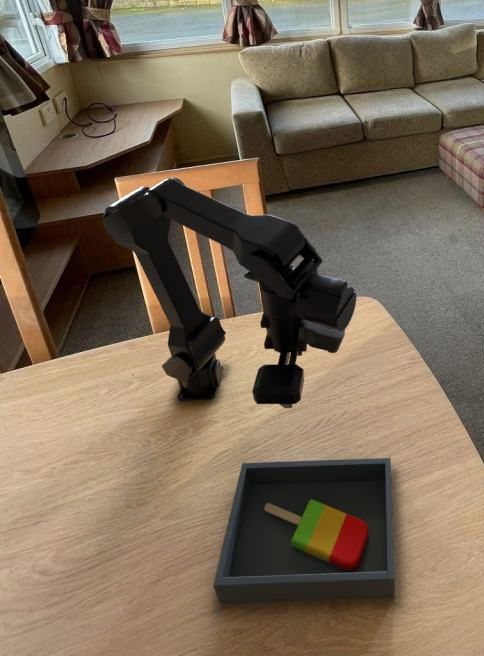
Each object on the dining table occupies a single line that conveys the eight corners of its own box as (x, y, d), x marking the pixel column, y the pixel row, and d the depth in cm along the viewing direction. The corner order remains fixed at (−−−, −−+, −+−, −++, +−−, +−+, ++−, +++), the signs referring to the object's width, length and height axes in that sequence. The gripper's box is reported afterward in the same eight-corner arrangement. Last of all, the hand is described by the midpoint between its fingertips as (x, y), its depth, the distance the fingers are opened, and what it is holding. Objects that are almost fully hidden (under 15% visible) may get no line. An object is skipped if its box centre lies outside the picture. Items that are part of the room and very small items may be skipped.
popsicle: (355, 577, 61) (355, 569, 60) (254, 531, 66) (252, 523, 65) (371, 529, 66) (371, 522, 65) (276, 490, 71) (274, 482, 70)
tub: (219, 604, 59) (213, 585, 57) (247, 481, 72) (242, 462, 70) (395, 597, 60) (394, 579, 58) (391, 476, 72) (390, 457, 70)
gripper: (334, 359, 60) (340, 439, 66) (345, 260, 76) (349, 331, 83) (244, 360, 60) (260, 439, 67) (275, 260, 76) (285, 332, 83)
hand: (293, 379), depth 75 cm, fingers open, 9 cm apart
